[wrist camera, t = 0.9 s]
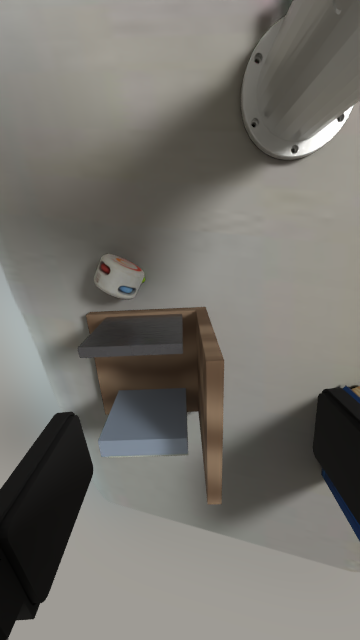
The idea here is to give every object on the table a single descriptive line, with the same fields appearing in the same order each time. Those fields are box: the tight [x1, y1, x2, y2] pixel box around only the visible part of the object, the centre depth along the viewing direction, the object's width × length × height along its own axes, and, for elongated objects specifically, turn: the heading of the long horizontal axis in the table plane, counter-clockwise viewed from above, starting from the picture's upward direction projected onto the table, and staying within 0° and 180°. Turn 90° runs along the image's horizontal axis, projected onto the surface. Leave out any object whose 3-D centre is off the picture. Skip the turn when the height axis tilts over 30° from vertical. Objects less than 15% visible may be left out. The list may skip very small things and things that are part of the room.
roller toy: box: [94, 254, 145, 299], centre depth 30 cm, size 4×6×6 cm
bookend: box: [78, 314, 183, 358], centre depth 29 cm, size 1×11×10 cm, turn 93°
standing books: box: [98, 388, 188, 458], centre depth 34 cm, size 5×11×10 cm, turn 93°
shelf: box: [86, 307, 224, 504], centre depth 30 cm, size 18×18×16 cm
